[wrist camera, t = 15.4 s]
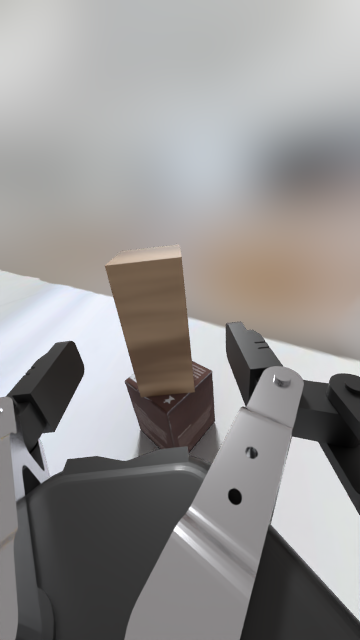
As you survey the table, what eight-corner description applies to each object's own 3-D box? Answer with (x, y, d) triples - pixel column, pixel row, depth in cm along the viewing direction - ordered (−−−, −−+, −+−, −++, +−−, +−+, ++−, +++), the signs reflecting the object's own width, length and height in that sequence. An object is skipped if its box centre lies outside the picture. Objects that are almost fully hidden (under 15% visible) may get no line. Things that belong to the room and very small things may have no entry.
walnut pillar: (194, 392, 18) (181, 257, 12) (140, 397, 18) (104, 265, 12) (190, 357, 21) (179, 244, 16) (146, 362, 22) (121, 250, 16)
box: (216, 422, 23) (214, 370, 19) (178, 468, 19) (167, 415, 16) (176, 394, 27) (169, 347, 23) (138, 428, 23) (122, 379, 20)
